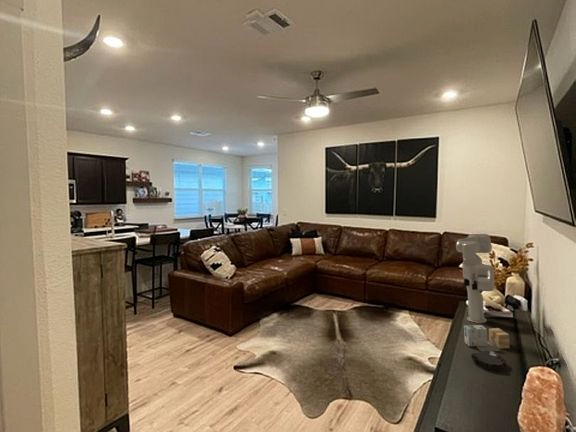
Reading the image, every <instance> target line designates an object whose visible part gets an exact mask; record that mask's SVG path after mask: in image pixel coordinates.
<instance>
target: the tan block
mask: <svg viewBox="0 0 576 432" xmlns="http://www.w3.org/2000/svg"><path fill="white" fill-rule="evenodd" d="M488 342H490V343H491V344H493V345H494V346H495V347H497V348H498V349H510V348H511V347H510V345H511V344H510V334H509V333H507V332H505V331H504V330H503V329H501V328H499V327H495V328H493V327H492V328H488Z"/></svg>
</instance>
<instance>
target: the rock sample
mask: <svg viewBox="0 0 576 432" xmlns="http://www.w3.org/2000/svg"><path fill="white" fill-rule="evenodd" d="M470 356H471V359H472V361H473V363H474V365H475V366H476V367H478V368H480V369H483V370H486V371H490V372H493V373H496V372H502V371H505V370H506V366H507V362H506V361H507V360H506V358H504V357H501V355H500V353H498V352H497V351H488V350H485V351H482V352H481V351H479V352H472V353H471V355H470Z"/></svg>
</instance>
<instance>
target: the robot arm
mask: <svg viewBox="0 0 576 432" xmlns="http://www.w3.org/2000/svg"><path fill="white" fill-rule="evenodd" d="M492 247H493V246H492V240H491V237H490V235H489V233H488V234H487V233H470V234H469V235H467V237H464V238H460V239H458V240H457V241H456V243H455V250H456V251H457V252H458V253H462V278H463V282H464V287H466V291H467V302H468V303H467V304H468V311H467V314H468V316H466V320H467V321H469V322H470V321H471V323H474V322H475V323H476V324H484V323H487V318H486V317H485V313H484V312H485V311H484V296H483V294H482V292H493V291H494V289H495V269H494V267H493V266H492V265H490V264H483V259H482V258H481V257H480V256H479V255H478V254H490V253H491V252H492V251H493V248H492ZM479 291H482V292H481V293H480V292H479ZM475 323H474V324H475Z"/></svg>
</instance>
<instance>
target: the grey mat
mask: <svg viewBox="0 0 576 432" xmlns="http://www.w3.org/2000/svg"><path fill="white" fill-rule="evenodd" d="M487 345H488V346H477V348H478V349H479V350H478V349H477V348H476V349H477V350H478V351H479V352H482V351H485V350H488V351H492V352H500V351H501V349H500V348H498V347H496V346H495V345H494V344H492V343H491V342H490V341H489V340H487Z"/></svg>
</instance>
